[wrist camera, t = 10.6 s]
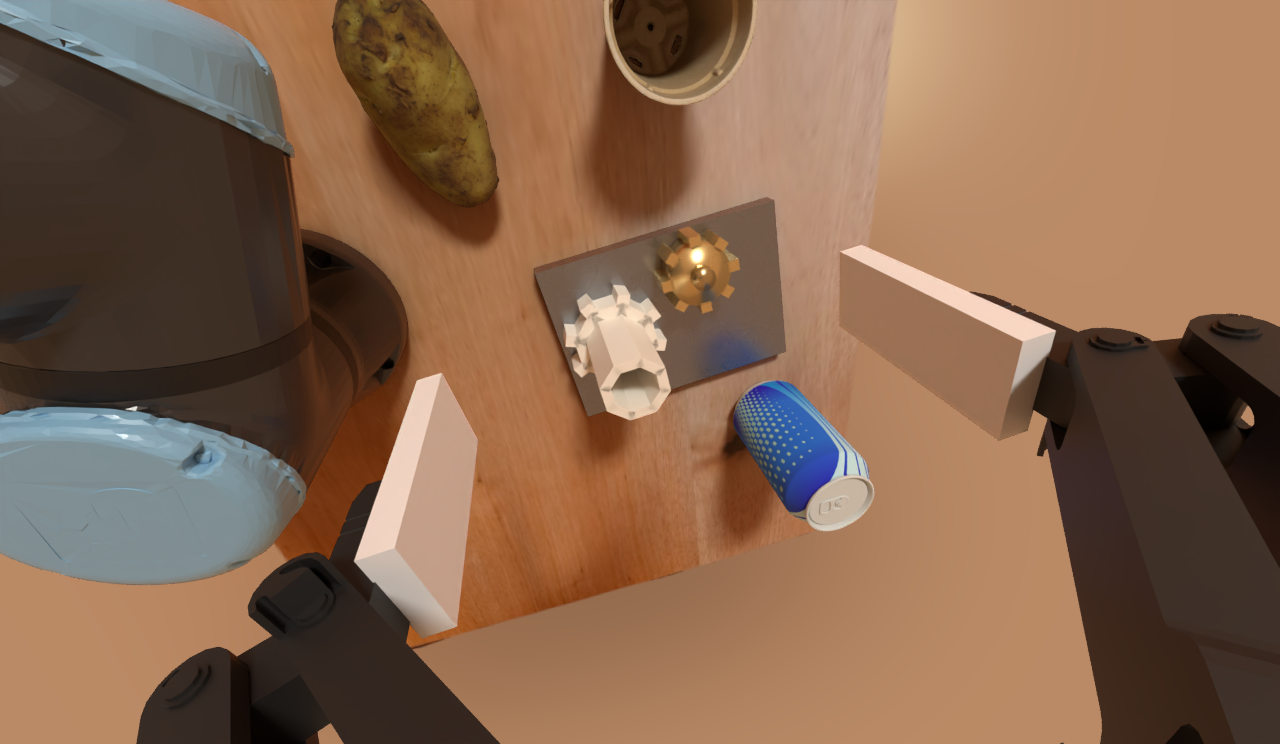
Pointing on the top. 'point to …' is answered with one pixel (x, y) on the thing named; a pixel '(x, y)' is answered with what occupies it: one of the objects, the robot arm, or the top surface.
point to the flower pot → (708, 54)
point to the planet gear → (620, 352)
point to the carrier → (685, 292)
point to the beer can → (803, 456)
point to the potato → (417, 94)
